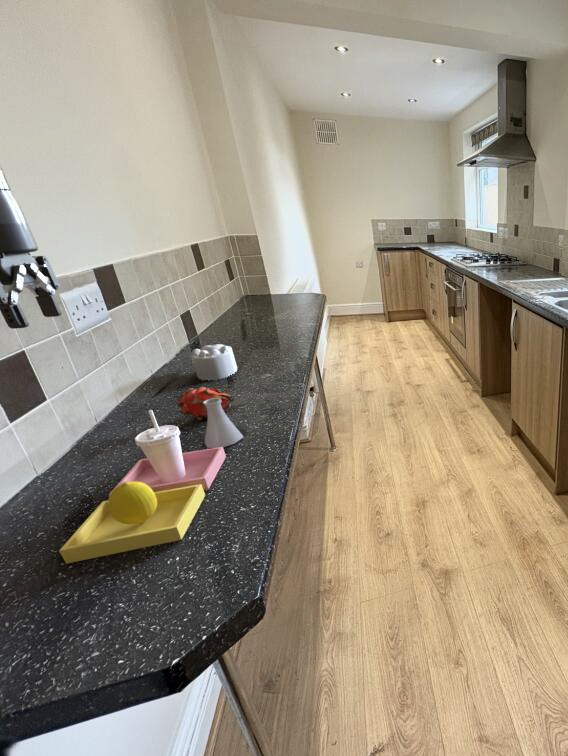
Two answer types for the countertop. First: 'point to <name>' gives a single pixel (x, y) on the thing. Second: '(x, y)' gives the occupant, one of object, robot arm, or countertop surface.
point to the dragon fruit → (201, 401)
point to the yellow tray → (135, 526)
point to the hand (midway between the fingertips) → (37, 321)
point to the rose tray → (197, 468)
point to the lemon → (132, 503)
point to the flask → (219, 426)
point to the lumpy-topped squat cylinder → (214, 362)
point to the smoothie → (163, 450)
